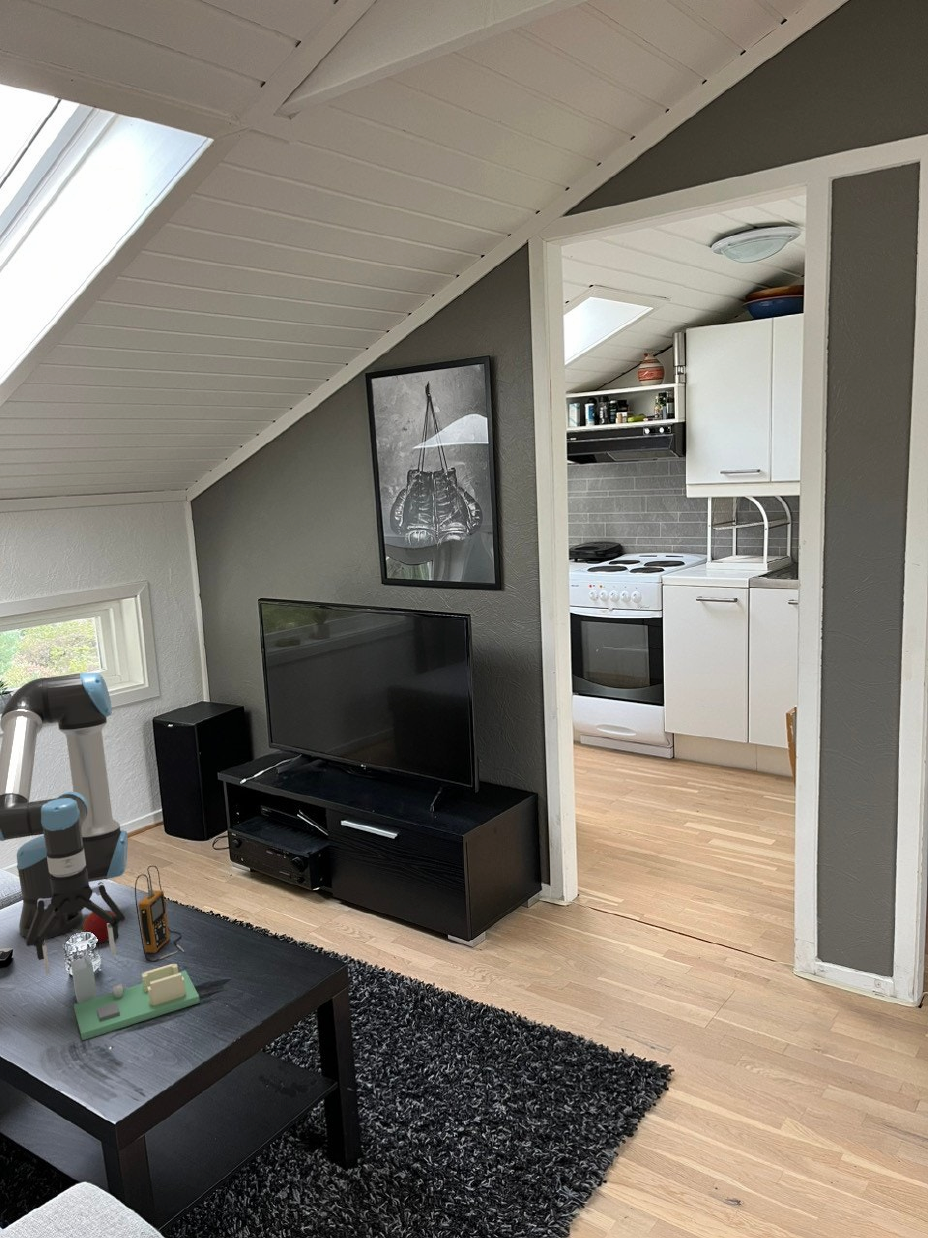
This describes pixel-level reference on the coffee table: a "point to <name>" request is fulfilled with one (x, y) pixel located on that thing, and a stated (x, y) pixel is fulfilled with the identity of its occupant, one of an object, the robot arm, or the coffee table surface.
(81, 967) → the plug
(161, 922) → the multimeter
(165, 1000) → the board
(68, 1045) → the coffee table surface
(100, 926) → the apple
